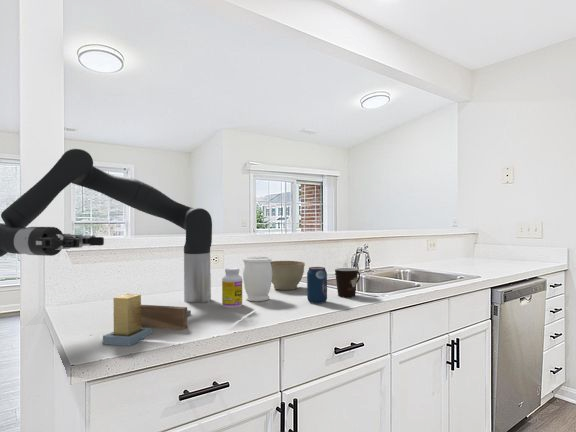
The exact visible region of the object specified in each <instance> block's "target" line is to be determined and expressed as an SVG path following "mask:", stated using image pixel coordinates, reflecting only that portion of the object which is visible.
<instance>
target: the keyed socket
mask: <svg viewBox="0 0 576 432" xmlns="http://www.w3.org/2000/svg"><path fill="white" fill-rule="evenodd" d="M152 330H153V329H152V327H141V332H138V333H136V334H134V335H132V336H130V337H127V336H115V335H114V331H112V332H109V333H107V334H105V335H103V336H102V344H103V345H112V346H113V345H114V346H124V347H125V346H126V347H127V346H128V347H131V346H133V345H135V344H137V343H140V342H141V341H143V340H145V339H146V337H147V336H149V335H151V334H152Z"/></svg>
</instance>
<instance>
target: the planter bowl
mask: <svg viewBox="0 0 576 432" xmlns="http://www.w3.org/2000/svg"><path fill="white" fill-rule="evenodd" d="M270 264H271V267H272V281H271V284H272V285H273V288H274V289H275V290H279V291H280V290H282V291H291V290H296V289H297V288H298V285H299V283H300V282H301V280H302V279H303V276H304V272H305V265H306V263H305V262H304V261H300V260H299V261H297V260H272V261H271V262H270Z"/></svg>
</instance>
